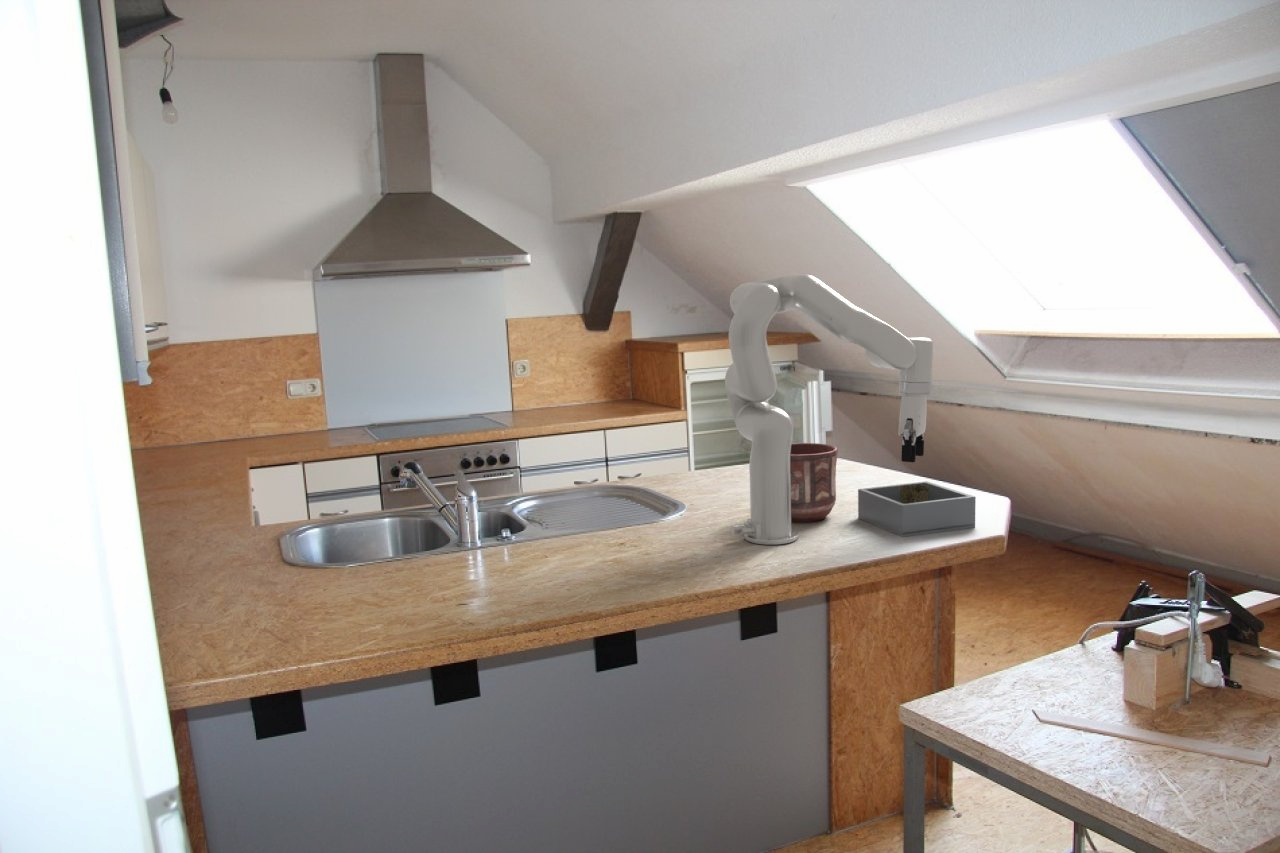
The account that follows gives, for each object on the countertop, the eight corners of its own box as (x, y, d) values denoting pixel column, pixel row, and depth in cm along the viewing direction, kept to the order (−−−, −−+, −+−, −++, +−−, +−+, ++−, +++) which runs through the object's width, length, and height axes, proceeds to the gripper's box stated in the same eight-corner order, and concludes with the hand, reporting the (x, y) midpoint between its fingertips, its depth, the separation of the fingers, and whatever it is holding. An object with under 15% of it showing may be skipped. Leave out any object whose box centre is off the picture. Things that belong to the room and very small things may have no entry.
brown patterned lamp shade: (893, 516, 240) (893, 485, 239) (918, 513, 242) (919, 482, 241) (910, 523, 233) (910, 491, 232) (936, 520, 235) (936, 488, 234)
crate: (902, 536, 225) (902, 505, 224) (858, 518, 244) (858, 489, 243) (975, 527, 231) (975, 496, 230) (926, 509, 250) (926, 481, 249)
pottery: (818, 529, 235) (817, 456, 232) (755, 520, 245) (754, 451, 243) (849, 513, 249) (848, 445, 246) (788, 506, 259) (787, 440, 257)
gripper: (907, 385, 242) (904, 452, 244) (891, 391, 227) (888, 463, 229) (937, 386, 239) (935, 454, 241) (923, 392, 223) (921, 465, 226)
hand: (912, 458), depth 235 cm, fingers open, 9 cm apart
